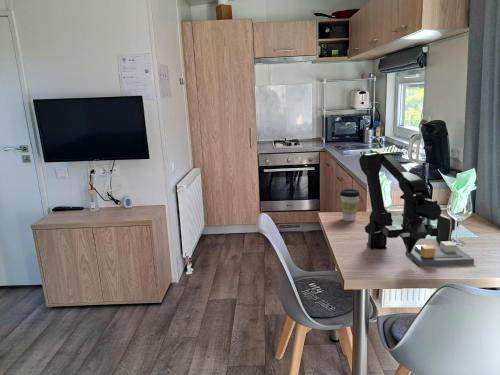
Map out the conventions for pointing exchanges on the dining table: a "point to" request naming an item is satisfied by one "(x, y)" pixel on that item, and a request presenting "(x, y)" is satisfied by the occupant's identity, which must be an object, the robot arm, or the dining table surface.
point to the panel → (442, 258)
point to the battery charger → (445, 228)
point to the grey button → (418, 248)
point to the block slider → (427, 251)
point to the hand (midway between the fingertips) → (408, 252)
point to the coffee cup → (349, 203)
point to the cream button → (447, 246)
